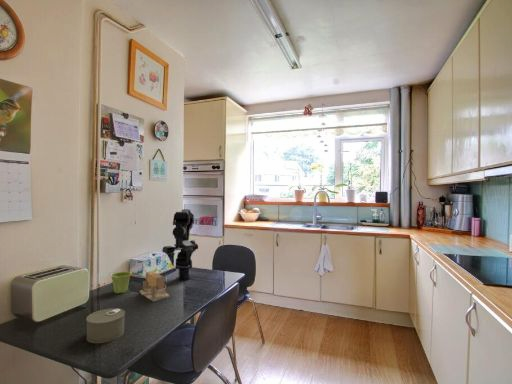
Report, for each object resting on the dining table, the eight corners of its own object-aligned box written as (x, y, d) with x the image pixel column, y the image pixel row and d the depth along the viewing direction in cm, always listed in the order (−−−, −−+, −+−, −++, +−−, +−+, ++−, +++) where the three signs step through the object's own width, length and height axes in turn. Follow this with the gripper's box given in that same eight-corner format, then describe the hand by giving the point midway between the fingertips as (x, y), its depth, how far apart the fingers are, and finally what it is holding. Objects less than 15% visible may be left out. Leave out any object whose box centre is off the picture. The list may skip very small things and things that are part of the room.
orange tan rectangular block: (145, 283, 136) (146, 272, 137) (151, 281, 139) (151, 271, 139) (157, 289, 127) (157, 278, 127) (163, 288, 130) (163, 276, 130)
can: (77, 339, 92) (77, 319, 92) (107, 323, 103) (108, 305, 103) (103, 346, 88) (104, 325, 88) (132, 329, 99) (132, 311, 99)
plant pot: (105, 293, 134) (106, 275, 134) (121, 287, 143) (122, 270, 143) (119, 296, 131) (120, 278, 131) (135, 289, 140) (135, 273, 140)
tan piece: (139, 292, 135) (139, 281, 135) (155, 289, 141) (155, 278, 141) (153, 301, 125) (153, 289, 125) (169, 297, 131) (169, 285, 131)
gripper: (172, 238, 135) (172, 270, 134) (204, 235, 148) (203, 263, 148) (162, 235, 142) (161, 265, 142) (192, 232, 156) (192, 260, 156)
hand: (180, 263), depth 147 cm, fingers open, 9 cm apart
